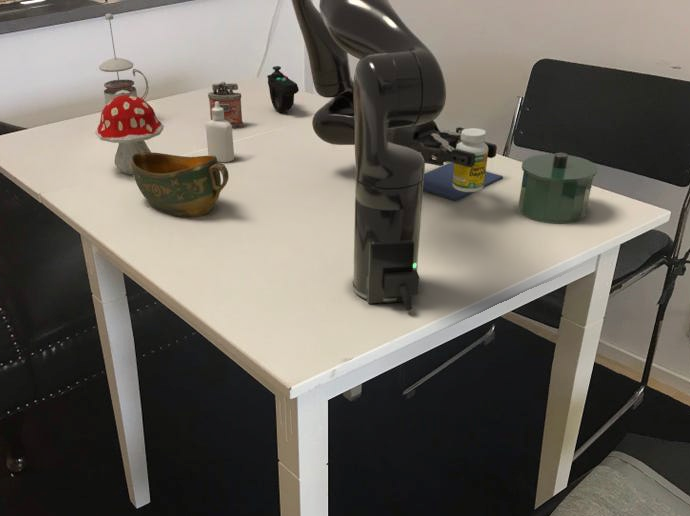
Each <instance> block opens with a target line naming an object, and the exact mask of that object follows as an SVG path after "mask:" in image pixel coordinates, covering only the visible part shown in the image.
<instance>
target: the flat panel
mask: <svg viewBox="0 0 690 516" xmlns="http://www.w3.org/2000/svg"><path fill="white" fill-rule="evenodd" d="M453 174H454V163H452V164H447V163H446V164H444V165H442V166H438V167H437V168H435V169H432V170H430V171H428V172H424V185H423V192H427V193H430V194H433V195H436V196H441V197H443V198H445V199H448V200H449V199H450V200H453V201H458V200H460V199H462V198H464V197H466V196H468V195H470V194H472V193H473V192H463V191H459V190H457V189H455V188H454V187H453ZM503 178H504V176H503V175H500V174H497V173H493V172H490V171H486V173H485V181H484V186H483V188H485V187H487V186H489V185H491V184H493V183H495V182H497V181H499V180H501V179H503Z"/></svg>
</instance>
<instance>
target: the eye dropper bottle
mask: <svg viewBox="0 0 690 516" xmlns="http://www.w3.org/2000/svg"><path fill="white" fill-rule="evenodd" d="M212 119H213V120H211V119H210V120H209V121H207V122H206V124H205V131H206V132H205V133H206V143H207V156H209V155H215V156H216V158H217V161H218V163H229V162H232V161H233V160H235V149H234V148H235V147H234V137H233V134H234V133H233V128H232V126H231V124H230V123H229V122H228V121H226V120H224V110H223V108H221V107H220V105H219V102H215V107H214V108H213V109H212Z"/></svg>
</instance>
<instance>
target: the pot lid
mask: <svg viewBox="0 0 690 516" xmlns="http://www.w3.org/2000/svg"><path fill="white" fill-rule="evenodd" d="M521 170H522V171H523V173H524V172H525V173H527V174H528V175H530V176H533V177H535V178H538V179H542V180H547V181H554V182H578V181H584V180H587V179H590V178H592V177H593V178H594V177H595V176H596V175H597V174H598V170H599V169H598V165H596V164H595V163H594V162H592V161H591V160H588V159H586V158H582V157H579V156H575V155H569V154H568V153H566V152H555V153H546V154H545V153H544V154H538V155H533V156H530V157H527V158H526V159H524V160H523V161H522V163H521Z"/></svg>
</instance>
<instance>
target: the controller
mask: <svg viewBox="0 0 690 516" xmlns="http://www.w3.org/2000/svg"><path fill="white" fill-rule="evenodd" d="M281 69H282V66H279V65H275V66H272V70H273V72H272V73H271V74H268V75H267V76H266V77H267V86H268V89H269V96H270V97H269V98H270V102H271V104H272V107H273V108H274V109H275V111H277V112H279V113H285V112H288V111H291V109H292V108H293V107H294V102H295V94H297V93H299V91H300V89H299V86H298V83H296V82H295V81H293V80H292V79H290V78H289V77H288V76H287V75H284V73H283V72H282V71H281Z"/></svg>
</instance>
